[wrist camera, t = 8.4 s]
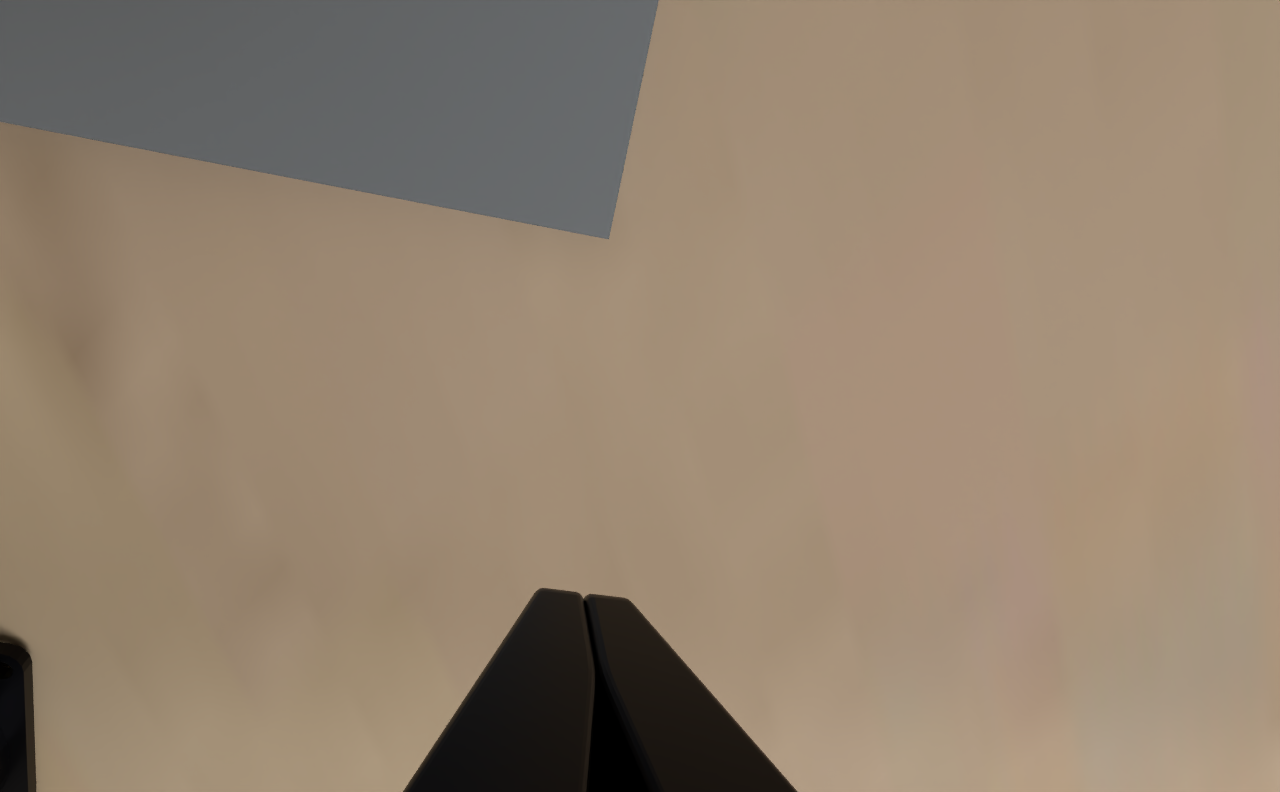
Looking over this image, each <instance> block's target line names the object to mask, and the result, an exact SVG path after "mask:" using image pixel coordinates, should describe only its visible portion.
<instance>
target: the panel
mask: <svg viewBox="0 0 1280 792" xmlns="http://www.w3.org/2000/svg"><path fill="white" fill-rule="evenodd" d="M657 5H658V0H0V122H5V123H10V124H15V125H20V126H25V127H30V128H36V129H41V130H46V131H51V132H56V133H61V134H67V135H72V136H77V137H82V138H87V139H92V140H98V141H103V142H108V143H113V144H118V145H124V146H129V147H134V148H139V149H144V150H149V151H155V152H160V153H165V154H170V155H175V156H180V157H186V158H191V159H196V160H201V161H206V162H212V163H217V164H222V165H227V166H232V167H237V168H243V169H248V170H253V171H258V172H263V173H268V174H274V175H279V176H284V177H289V178H294V179H299V180H305V181H310V182H315V183H320V184H325V185H331V186H336V187H341V188H346V189H351V190H356V191H362V192H367V193H372V194H377V195H382V196H387V197H393V198H398V199H403V200H408V201H413V202H418V203H424V204H429V205H434V206H439V207H444V208H450V209H455V210H460V211H465V212H470V213H475V214H481V215H486V216H491V217H496V218H501V219H506V220H512V221H517V222H522V223H527V224H532V225H537V226H543V227H548V228H553V229H558V230H563V231H569V232H574V233H579V234H584V235H589V236H594V237H600V238H605V239H609V235H610V231H611V226H612V221H613V216H614V211H615V207H616V202H617V197H618V192H619V187H620V183H621V178H622V173H623V168H624V163H625V159H626V154H627V149H628V144H629V139H630V135H631V130H632V125H633V120H634V115H635V111H636V106H637V101H638V96H639V91H640V87H641V82H642V77H643V72H644V67H645V63H646V58H647V53H648V48H649V44H650V39H651V34H652V29H653V24H654V20H655V15H656V10H657Z"/></svg>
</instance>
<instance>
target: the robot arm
mask: <svg viewBox="0 0 1280 792" xmlns="http://www.w3.org/2000/svg"><path fill="white" fill-rule="evenodd" d="M0 662H3V663H6V664H8V665H9V666H10V667H11V668H8V667H5V666H3V665H2V664H1V663H0V792H36V767H35V737H34V706H33V676H32V660H31V657H30V655H29V654H28V652H27V651H26V650H25V649H23V648H21V647H20V646H18V645H14V644H10V643H2V642H0ZM403 792H797V791H796V789H795V788H794V787H793V786H792V785H791V784H790V783H789V781H788V780H787V779H786V778H785V777H784V776H783V775H782V773H781V772H780V771H779V770H778V769H777V768H776V767H775V765H774V764H773V763H772V762H771V761H770V760H769V759H768V757H767V756H766V755H765V754H764V753H763V752H762V751H761V749H760V748H759V747H758V746H757V745H756V744H755V743H754V741H753V740H752V739H751V738H750V737H749V736H748V735H747V733H746V732H745V731H744V730H743V729H742V728H741V727H740V725H739V724H738V723H737V722H736V721H735V720H734V719H733V717H732V716H731V715H730V714H729V713H728V712H727V710H726V709H725V708H724V707H723V706H722V705H721V704H720V702H719V701H718V700H717V699H716V698H715V697H714V696H713V694H712V693H711V692H710V691H709V690H708V689H707V688H706V686H705V685H704V684H703V683H702V682H701V681H700V680H699V678H698V677H697V676H696V675H695V674H694V673H693V672H692V670H691V669H690V668H689V667H688V666H687V665H686V664H685V662H684V661H683V660H682V659H681V658H680V657H679V656H678V654H677V653H676V652H675V651H674V650H673V649H672V648H671V646H670V645H669V644H668V643H667V642H666V641H665V640H664V638H663V637H662V636H661V635H660V634H659V633H658V632H657V630H656V629H655V628H654V627H653V626H652V625H651V624H650V622H649V621H648V620H647V619H646V618H645V617H644V616H643V614H642V613H641V612H640V611H639V610H638V609H637V608H636V606H635V605H634V604H633V603H632V602H631V601H630V600H628V599H626V598H622V597H613V596H605V595H596V594H589V595H587V596H585V598H584V599H583V597H582V595H580V594H579V593H577V592H572V591H564V590H556V589H548V588H541V589H538V590H537V591H536V592H535V593H534V595H533V596H532V598H531V599H530V601H529V602H528V604H527V605H526V607H525V608H524V610H523V611H522V613H521V614H520V616H519V617H518V619H517V621H516V622H515V624H514V625H513V627H512V628H511V630H510V631H509V633H508V634H507V636H506V637H505V639H504V640H503V642H502V643H501V645H500V646H499V648H498V649H497V651H496V652H495V654H494V655H493V657H492V658H491V660H490V661H489V663H488V664H487V666H486V667H485V669H484V670H483V672H482V673H481V675H480V676H479V678H478V679H477V681H476V682H475V684H474V685H473V687H472V688H471V690H470V691H469V693H468V694H467V696H466V697H465V699H464V700H463V702H462V703H461V705H460V706H459V708H458V709H457V711H456V712H455V714H454V716H453V717H452V719H451V720H450V722H449V723H448V725H447V726H446V728H445V729H444V731H443V732H442V734H441V735H440V737H439V738H438V740H437V741H436V743H435V744H434V746H433V747H432V749H431V750H430V752H429V753H428V755H427V756H426V758H425V759H424V761H423V762H422V764H421V765H420V767H419V768H418V770H417V771H416V773H415V774H414V776H413V777H412V779H411V780H410V782H409V783H408V785H407V786H406V788H405V789H404V791H403Z"/></svg>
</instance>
